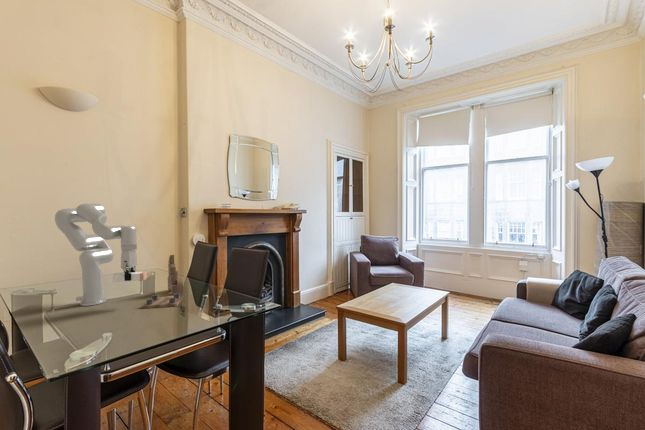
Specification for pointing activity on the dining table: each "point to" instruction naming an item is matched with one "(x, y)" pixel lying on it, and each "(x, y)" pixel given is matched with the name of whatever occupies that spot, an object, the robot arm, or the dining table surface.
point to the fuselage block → (134, 276)
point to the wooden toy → (174, 278)
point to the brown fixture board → (163, 301)
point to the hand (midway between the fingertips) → (130, 278)
